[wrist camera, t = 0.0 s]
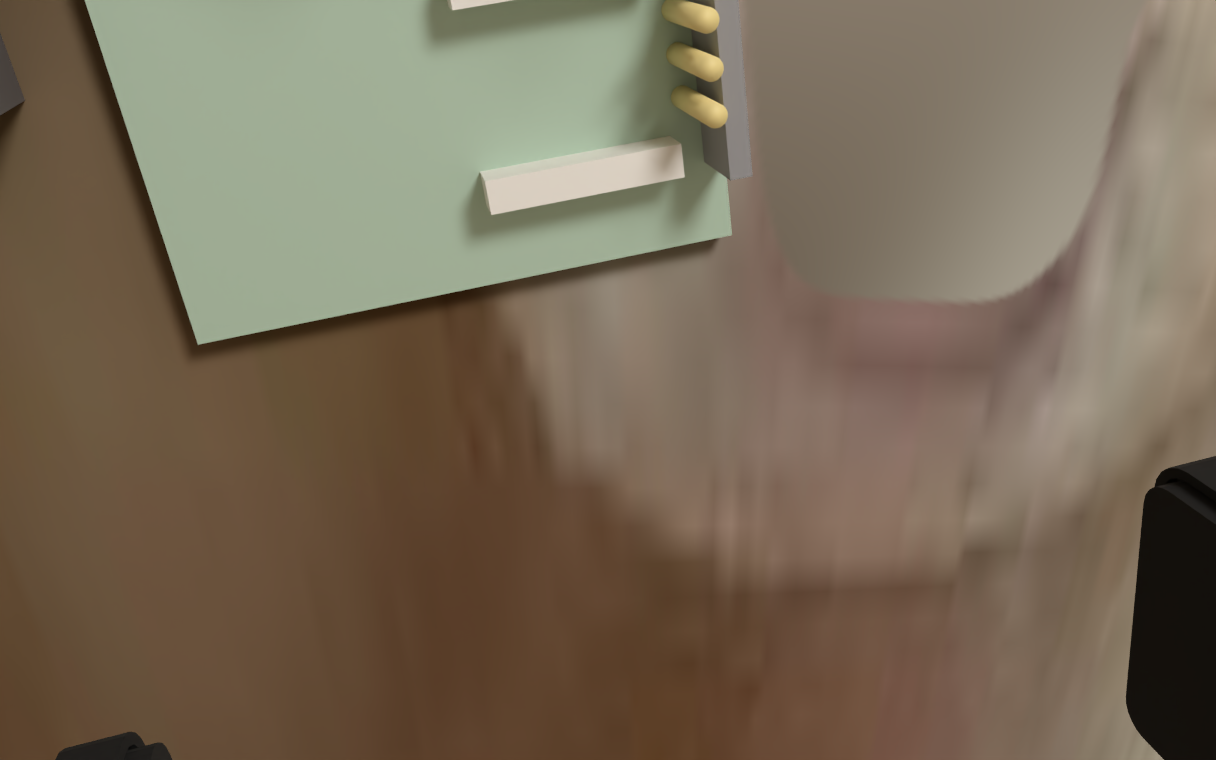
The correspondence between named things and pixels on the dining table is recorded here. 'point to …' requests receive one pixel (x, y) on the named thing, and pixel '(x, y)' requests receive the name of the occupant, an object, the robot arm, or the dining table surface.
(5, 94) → the plug
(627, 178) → the board
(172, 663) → the dining table surface
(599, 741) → the dining table surface
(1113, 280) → the dining table surface
